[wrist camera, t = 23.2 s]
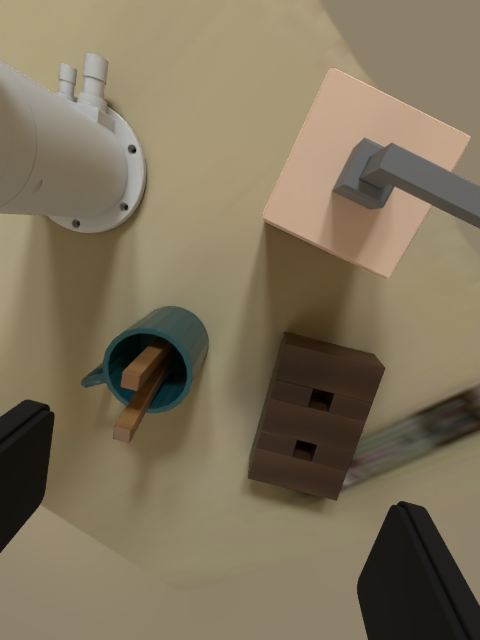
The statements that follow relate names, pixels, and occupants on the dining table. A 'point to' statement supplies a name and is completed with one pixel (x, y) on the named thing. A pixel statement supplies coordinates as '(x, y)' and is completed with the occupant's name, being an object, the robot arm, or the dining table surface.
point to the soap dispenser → (369, 175)
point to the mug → (132, 342)
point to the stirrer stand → (313, 415)
